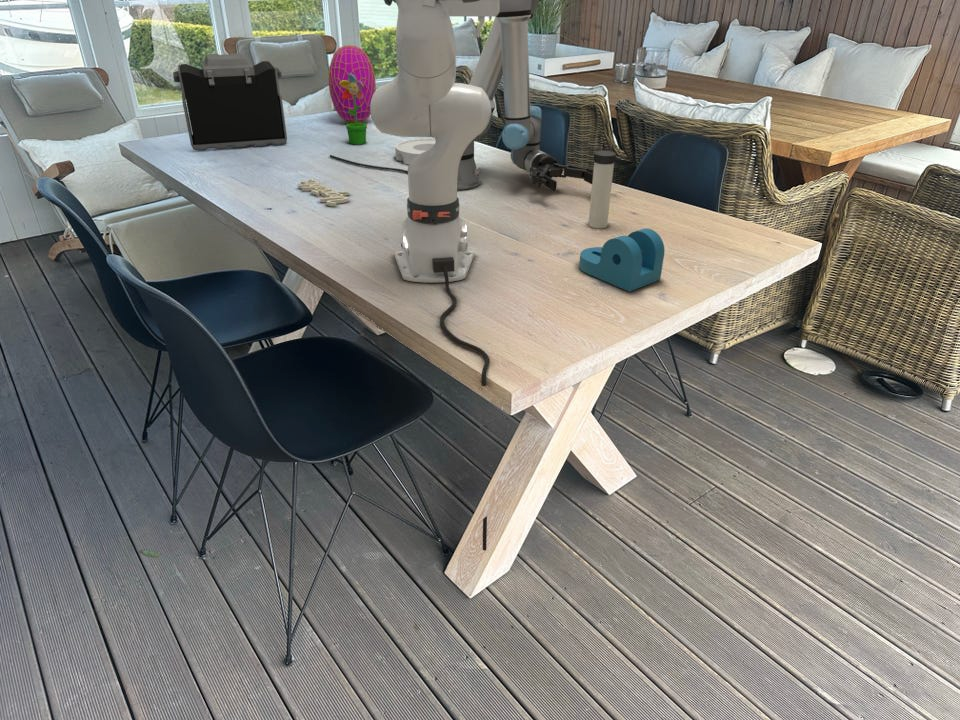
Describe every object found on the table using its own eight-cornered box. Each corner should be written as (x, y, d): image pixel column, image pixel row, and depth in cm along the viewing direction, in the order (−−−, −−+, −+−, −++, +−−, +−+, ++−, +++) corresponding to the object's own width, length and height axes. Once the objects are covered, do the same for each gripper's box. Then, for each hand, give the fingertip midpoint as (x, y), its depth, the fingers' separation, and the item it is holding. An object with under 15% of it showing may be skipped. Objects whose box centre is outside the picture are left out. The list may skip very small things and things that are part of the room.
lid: (615, 164, 173) (616, 156, 172) (593, 163, 174) (594, 155, 173) (614, 159, 178) (615, 151, 177) (593, 158, 179) (594, 150, 178)
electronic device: (284, 132, 276) (273, 51, 260) (292, 144, 258) (281, 58, 243) (187, 139, 264) (169, 54, 249) (188, 152, 246) (169, 62, 231)
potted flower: (342, 144, 260) (336, 73, 247) (351, 139, 266) (346, 70, 254) (365, 146, 257) (360, 74, 245) (374, 141, 264) (369, 71, 251)
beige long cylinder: (607, 228, 182) (615, 157, 173) (588, 227, 183) (595, 157, 173) (606, 222, 187) (614, 153, 177) (588, 221, 187) (594, 152, 178)
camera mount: (660, 279, 153) (667, 234, 148) (629, 291, 148) (635, 245, 142) (600, 255, 165) (604, 213, 160) (569, 265, 160) (573, 222, 154)
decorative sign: (361, 197, 199) (330, 204, 194) (361, 201, 200) (330, 207, 195) (320, 177, 217) (291, 182, 212) (321, 180, 218) (291, 185, 213)
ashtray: (454, 167, 232) (454, 155, 230) (388, 164, 235) (387, 152, 233) (466, 151, 252) (466, 140, 250) (404, 148, 255) (404, 137, 253)
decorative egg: (362, 116, 305) (357, 42, 290) (386, 123, 292) (382, 46, 277) (324, 121, 294) (316, 45, 279) (347, 129, 281) (340, 49, 266)
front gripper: (412, -29, 156) (414, 38, 163) (501, -28, 158) (500, 38, 165) (411, -29, 161) (413, 36, 168) (497, -28, 164) (496, 36, 171)
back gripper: (575, 173, 218) (612, 192, 201) (504, 181, 209) (536, 201, 193) (577, 149, 214) (615, 166, 198) (505, 156, 206) (538, 175, 189)
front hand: (457, 37), depth 167 cm, fingers open, 8 cm apart
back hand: (576, 183), depth 195 cm, fingers open, 13 cm apart
